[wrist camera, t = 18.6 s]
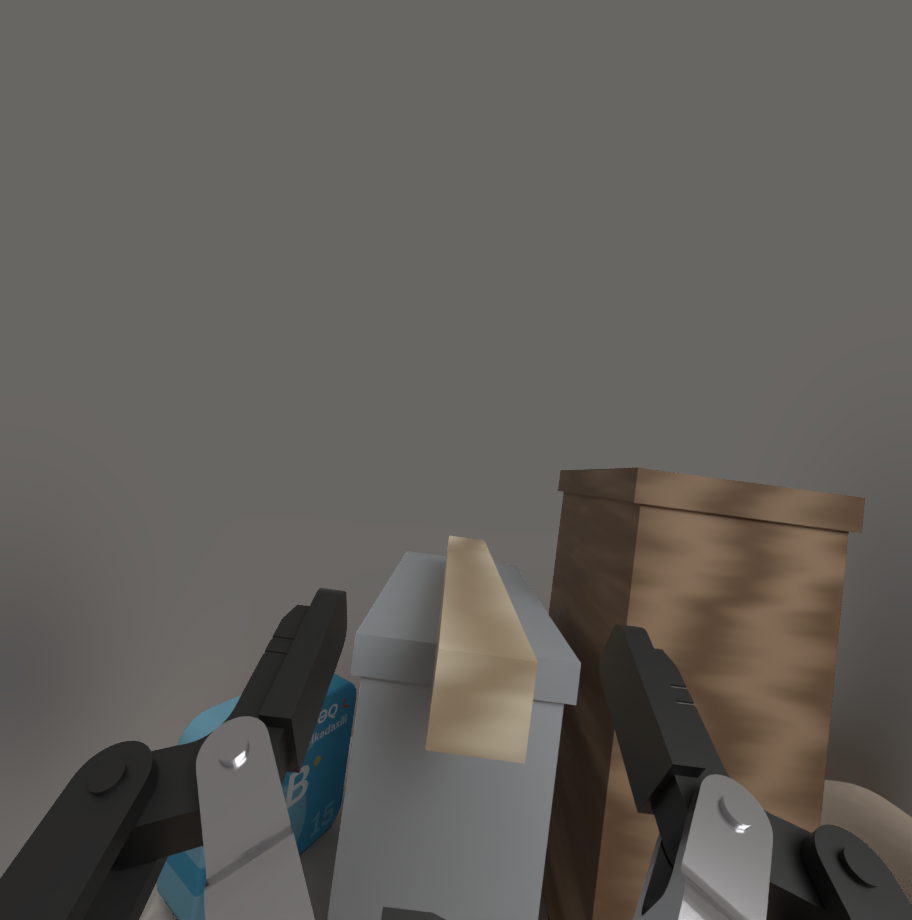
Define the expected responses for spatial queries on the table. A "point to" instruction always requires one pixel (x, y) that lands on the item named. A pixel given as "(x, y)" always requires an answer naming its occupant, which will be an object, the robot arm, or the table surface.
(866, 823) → the table surface
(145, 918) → the table surface
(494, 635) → the birch rod
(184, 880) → the data package
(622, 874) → the wooden column with lip
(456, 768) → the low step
